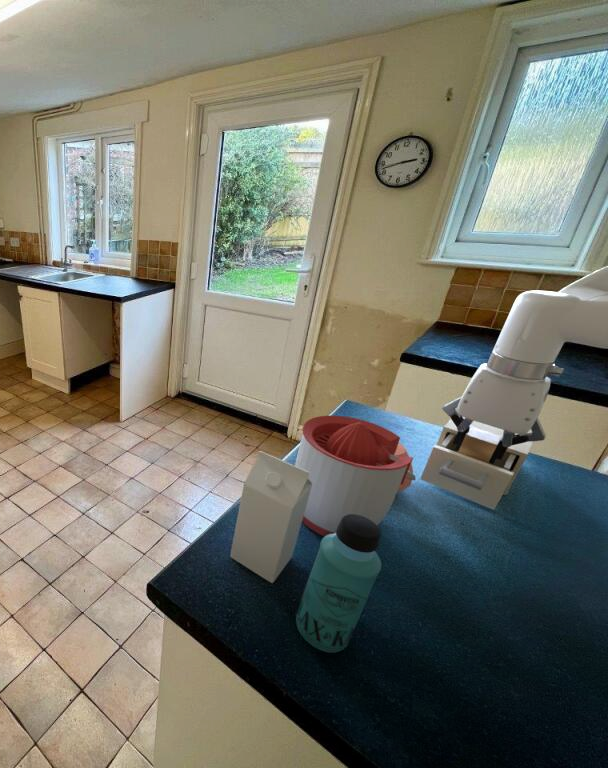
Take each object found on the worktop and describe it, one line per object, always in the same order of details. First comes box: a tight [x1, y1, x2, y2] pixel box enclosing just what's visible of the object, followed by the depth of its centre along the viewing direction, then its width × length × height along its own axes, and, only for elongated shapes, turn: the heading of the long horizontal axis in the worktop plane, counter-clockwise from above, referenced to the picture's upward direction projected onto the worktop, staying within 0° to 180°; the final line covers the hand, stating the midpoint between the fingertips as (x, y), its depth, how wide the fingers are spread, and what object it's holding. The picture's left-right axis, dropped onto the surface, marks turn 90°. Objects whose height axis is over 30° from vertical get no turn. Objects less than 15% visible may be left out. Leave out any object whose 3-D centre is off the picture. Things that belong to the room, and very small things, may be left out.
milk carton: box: [229, 450, 312, 584], centre depth 63 cm, size 7×7×19 cm
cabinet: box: [435, 417, 535, 496], centre depth 86 cm, size 15×13×10 cm
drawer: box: [419, 433, 516, 511], centre depth 79 cm, size 19×11×8 cm, turn 130°
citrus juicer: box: [294, 415, 416, 537], centre depth 70 cm, size 16×17×20 cm
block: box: [458, 427, 502, 463], centre depth 77 cm, size 4×4×4 cm
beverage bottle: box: [295, 514, 382, 654], centre depth 51 cm, size 6×7×20 cm
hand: (475, 453), depth 78 cm, fingers closed on block, 4 cm apart
